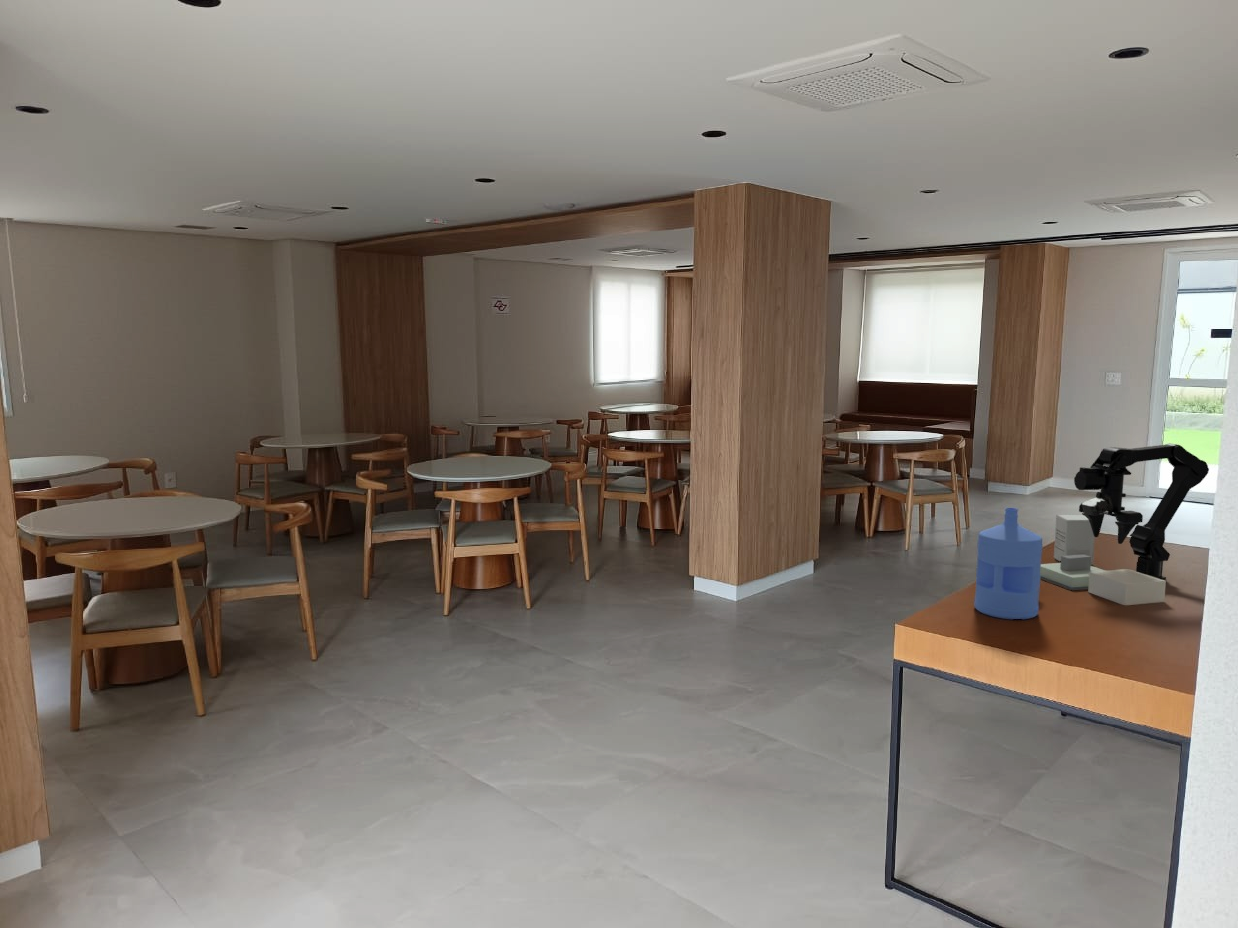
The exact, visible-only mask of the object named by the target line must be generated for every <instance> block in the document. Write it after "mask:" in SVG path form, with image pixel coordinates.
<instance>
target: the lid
mask: <svg viewBox="0 0 1238 928" xmlns="http://www.w3.org/2000/svg"><path fill="white" fill-rule="evenodd" d="M1095 571H1106V570H1105V569H1102V568H1099V567H1096V566H1094V565H1091V557H1090V556H1087V555H1084V554H1083V555H1069V556H1061V562H1055V563H1053V562H1052V563H1041V567H1040V575H1041V576H1042V577H1045V578H1047V579H1050V580H1053V581H1055V582H1058V583H1061V584H1063V585H1066V586H1069V587H1072V588H1073V587H1085V586H1089V573H1090V572H1095Z"/></svg>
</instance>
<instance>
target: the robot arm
mask: <svg viewBox="0 0 1238 928" xmlns="http://www.w3.org/2000/svg"><path fill="white" fill-rule="evenodd" d="M1163 459H1165V460H1166V459H1167V461H1168V464H1170V465H1171V467H1173V469H1172V472H1171V478H1172V479H1171V480H1172V481H1171V484H1170V486H1169V487H1168V488H1167V490H1166V491H1165V494H1164V495H1163V497H1162V498H1161V499H1160V502H1159V503H1158V505H1157V507H1156V508H1155V510H1154V511H1153V513H1152V514H1151V516H1150V517H1149V519H1148V521H1147V522H1146V523H1145V524H1143V525H1140V524H1139V523H1143V517H1144V515H1143V514H1142V513H1141V512H1139V511H1133V510H1125V509H1126V507H1125V506H1122V503H1123V498H1126V497H1127V494H1126V493H1123V490H1124V478H1125V476H1131V475H1132V472H1131V471H1130V470H1128V468H1127V467H1130V466H1132V465H1134V464H1135V463H1139V462H1146V461H1156V460H1163ZM1209 470H1210V468H1209V465H1208V464H1207V462H1206V461H1205V460H1203V459H1200V458H1199V457H1197V456H1196V455H1194V454H1193V453H1191V452H1189V451H1188V450H1187V449H1186V448H1184V447H1183V446H1182V445H1180V444H1177V443H1175V444H1174V443H1166V444H1160V445H1159V444H1158V445H1151V446H1150V445H1149V446H1143V447H1142V446H1141V447H1135V448H1127V447H1126V448H1125V447H1113V446H1106V447H1103V448H1102V450H1101V452H1100V453H1099V455H1098V457H1097V458H1096V459H1095V460H1094V462H1092V464H1091V466H1090V467H1086V466H1085V467H1082V466H1081V467H1079V471H1078V472H1077V473H1076V474H1075V476H1074V478H1073V483H1074V485H1075V488H1076V489H1077V490H1078V491H1097V492H1096V494H1095V497H1094V498H1093V497H1092V498H1091V499H1087V500H1086V501H1084V502H1081V503H1080V504H1079V507H1078V512H1079V513H1081V515H1084V516H1085V517H1087V518H1088V520H1089V522H1090V525H1091V528H1092V531H1093V534H1094V537H1095V538H1099V536H1100V532H1101V529H1102V525H1103V521H1104V519H1105V518H1104V517H1105V515H1106V516H1107V515H1108V516H1111V517H1115V520H1116V521H1114V523H1115V524H1116V526H1117V543H1118V544H1119V545H1122V544H1123V543H1124V542H1125V540H1126V538H1127V537H1128V535H1129V534H1130V532H1131V531H1132V533H1131V534H1130V535H1129V537H1130V538H1129V541H1128V542H1129V544H1130V548H1131V549H1132V551H1133V555H1134V556H1138V557H1137V561H1136V566H1135V567H1136V569H1135V571H1136V572H1139V573H1142V574H1145V575H1149V576H1152V577H1155V578H1158V579H1161V580H1167V577H1166V576H1164V575H1163V569H1164V562H1167V561H1169V558H1170V556H1171V553H1169V552H1168V551H1167V549H1166V548H1165V547H1164V544H1165V541H1166V529H1167V527H1168V526H1169V524H1170V523H1171V521H1172V519H1173V518H1174V516H1175V515H1176V513H1177V511H1178V509H1179V508H1180V506H1181V505H1182V503H1183V502H1184V500H1185V498H1186V496H1187V495H1188V493H1189V492H1190V490H1191V489H1192V488H1194V487H1195V486H1198V485H1200V484H1201V483H1202V481H1203V480H1204V479H1205V478H1206V476H1208V474H1209ZM1099 490H1100V491H1099Z"/></svg>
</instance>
